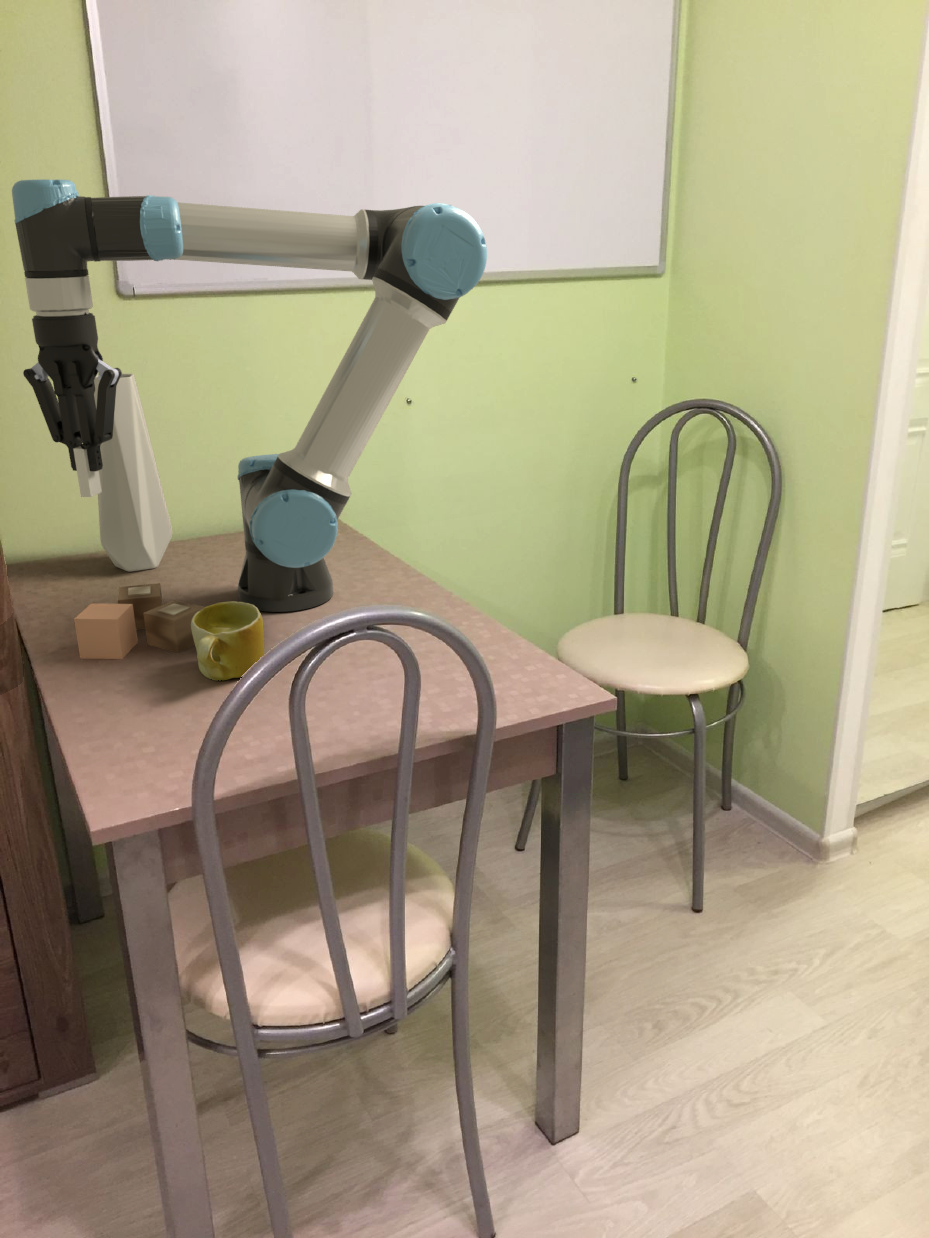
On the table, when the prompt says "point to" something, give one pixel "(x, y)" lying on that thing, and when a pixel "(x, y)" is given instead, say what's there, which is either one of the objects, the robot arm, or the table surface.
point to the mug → (227, 639)
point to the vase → (131, 487)
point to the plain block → (106, 631)
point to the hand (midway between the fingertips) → (91, 494)
